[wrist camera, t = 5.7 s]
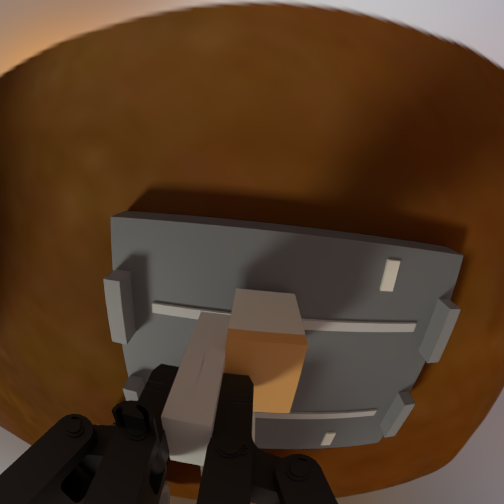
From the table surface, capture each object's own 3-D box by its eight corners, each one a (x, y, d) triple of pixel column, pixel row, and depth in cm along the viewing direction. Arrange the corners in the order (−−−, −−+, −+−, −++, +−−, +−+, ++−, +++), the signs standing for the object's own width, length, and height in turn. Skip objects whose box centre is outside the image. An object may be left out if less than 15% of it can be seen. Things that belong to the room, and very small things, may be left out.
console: (148, 414, 21) (137, 442, 18) (126, 210, 16) (96, 222, 12) (372, 427, 21) (382, 454, 18) (447, 246, 16) (477, 263, 12)
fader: (231, 351, 15) (222, 408, 11) (235, 288, 14) (226, 338, 10) (283, 355, 15) (289, 413, 11) (294, 293, 14) (308, 344, 10)
